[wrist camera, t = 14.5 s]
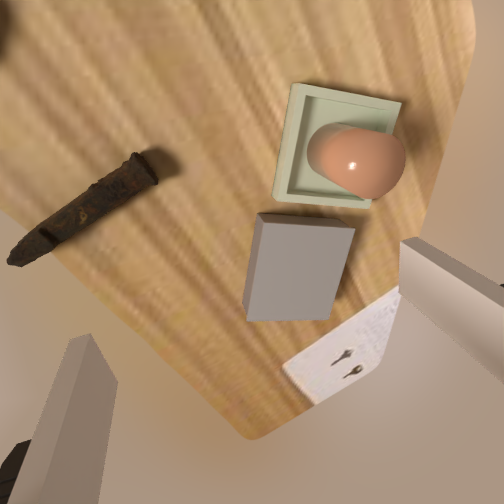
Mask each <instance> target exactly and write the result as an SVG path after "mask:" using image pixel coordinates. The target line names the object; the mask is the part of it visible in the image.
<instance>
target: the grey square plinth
mask: <svg viewBox="0 0 504 504" xmlns="http://www.w3.org/2000/svg"><path fill="white" fill-rule="evenodd" d="M354 232H355V228H351V227H349V226H348V225H346V224H345V223H343V222H342V221H341V220H339V219H332V218H318V217H305V216H291V215H278V214H264V213H257V217H256V223H255V229H254V235H253V241H252V247H251V253H250V260H249V266H248V272H247V278H246V284H245V290H244V296H243V302H242V303H243V306H244V309H245V312H246V314H247V319H246V320H247V321H293V320H328V319H329V316H330V313H331V309H332V306H333V302H334V299H335V296H336V292H337V289H338V286H339V282H340V279H341V276H342V272H343V269H344V266H345V262H346V259H347V256H348V252H349V249H350V246H351V242H352V239H353V236H354Z"/></svg>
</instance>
